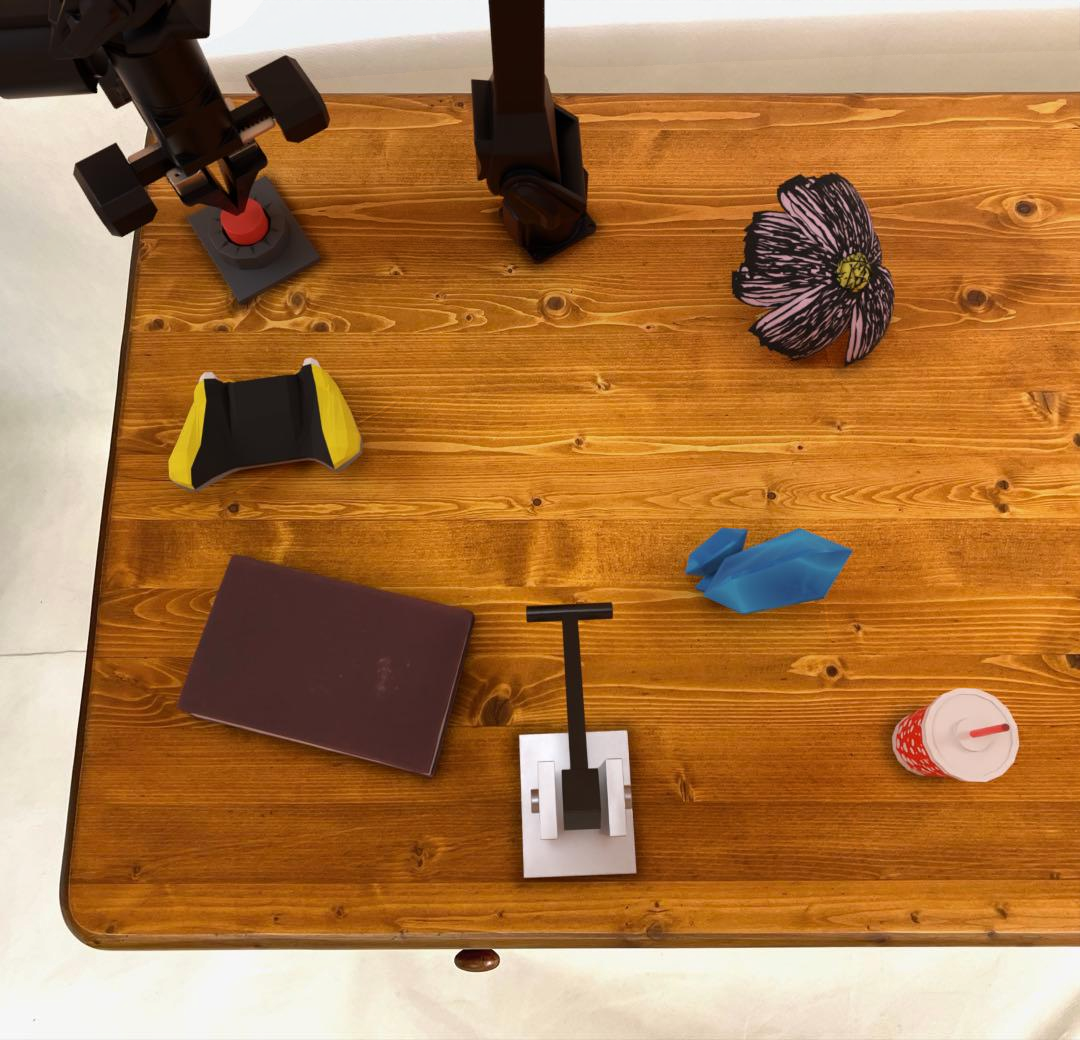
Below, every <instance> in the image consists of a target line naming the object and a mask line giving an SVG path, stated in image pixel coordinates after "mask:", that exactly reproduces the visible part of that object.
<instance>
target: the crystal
mask: <svg viewBox="0 0 1080 1040" xmlns="http://www.w3.org/2000/svg"><path fill="white" fill-rule="evenodd" d="M748 532H749V529H748V528H747V529H746V528H735V527H734V528H732V527H720V528H719V529H718V530H717V531H716V532H715V533H713V534H712V535H711V536H710V537H708V538H707V539H706V540H705V541H704V542H703V543H701V544H700V545H699V546H698V547H696V548H695V549H694V550H693V551H692V552H690V554H689V556H688V560H687V564H686V568H685V572H684V575H691V576H699V577H702V579H701V580H700V581H699V582H698V583H697V585H696V586H695V587H694V589H695V590H697V591H699V592H702V593H703V594H702V596H703V597H705V598H707V599H708V600H711V601H713V602H715V603H718V604H720V605H721V606H724V607H725V608H728V609H730V610H732V611H734V612H736V613H738V614H740V615H743V616H744V615H750V614H755V613H760V612H764V611H770V610H774V609H779V608H784V607H789V606H794V605H799V604H804V603H809V602H814V601H818V600H823V599H825V598H826V596H827V594H828V593H829V591H830V590H831V588H832V586H833V585H834V583H835V581H836V579H837V578H838V577H839V575H840V573H841V571H842V570H843V569H844V566H845V565H846V563H847V562H848V560H849V558H850V557H851V555H852V553H853V552H854V550H853V549H852V548H849V547H847V546H845V545H842V544H839V543H837V542H835V541H833V540H830V539H827V538H825V537H822V536H821V535H817V534H816V533H813V532H810V531H808V530H806V529H803V528H801V527H798V528H795V529H793V530H790V531H788V532H785V533H783V534H780V535H778V536H776V537H773V538H771V539H768V540H765V541H764V542H760V543H758V544H756V545H754V546H750V547H748V548H746V549H744V547H745V543H746V539H747V536H748Z"/></svg>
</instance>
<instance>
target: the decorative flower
mask: <svg viewBox="0 0 1080 1040" xmlns="http://www.w3.org/2000/svg"><path fill="white" fill-rule="evenodd" d="M828 172H829V173H827V174H821V175H820V176H819V177H817V176H815V175H811V176H804V175H803V174H802V173H799V174H796V175H794V176H793V177H791V178H788V179H786V180H785V181H784V182H783V183H781V184H779V185H777V186H778V187H777V188H776V198H777V201H778V203H779V205H780V208H781V209H782V210H783V211H779V210H768V209H767V210H766V209H765V210H758V211H752V216H751V222H750V223H749V224H748V225H747V226H746V227H745V228H743V229H742V231H744V232H745V233H746V234H745V235H744V237H743V239H742V242H744V243H745V244H744V249H743V258H744V262H742V261H741V262H740V264H739V267H738V269H736V270H731V289H732V290H731V294H732V295H733V298H735V299H736V300H738V301H739V302H740V303H743V304H744V305H746V306H750V307H754V308H760V309H765V310H769V311H768V312H766V313H765V314H764V315H762V316H760V317H759V318H758V319H757V320H756V321H754V322H753V323H752V325H751V326H750V327H749V328H748V329H747V332H749V333H751V334H752V336H753V337H756V338H757V339H758V342H759V347H766V348H767V350H768V351H769V352H773V351H774V352H776V353H778V354H779V355H781V356H787V357H786V358H787V359H788V360H787V361H786V362H798V361H801V360H805V359H808V358H810V357H812V356H815V355H816V354H819V353H820V352H822V351H824V350H825V349H827V348H829V347H830V346H832V345H833V344H834V343H836V342H837V341H838V340H840V339H842V337H843V336H844V335H845V334H846V333H847V331H848V337H847V343H846V349H845V353H844V354H845V355H844V357H843V364H844V365H843V366H844V368H847V367H849V366H850V365H853V364H855V363H856V362H858V361H862V360H864V359H865V358H866V357H867V356H868V355H870V354H871V353H872V352H873V351H874V349H875V348H876V347H877V346H878V344H880V342H881V341H882V340H883V337H884V336H885V334H886V332H887V330H888V328H889V325H890V322H891V321H892V317H893V312H894V305H895V303H894V302H895V286H894V281H893V277H892V273H891V271H890V270H889V269H888V268H887V267H886V266H883V265H882V264H883V250H882V246H881V245H882V244H881V241H880V239H879V236H878V234H877V232H876V230H875V226H874V222H873V218H872V214H871V212H870V210H869V208H868V205H867V203H866V202H865V200H864V199H863V197H862V195H861V194H860V193H859V191H858V190H857V189H856V188H855V186H854V185H853V183H851V182H850V180H848V179H847V178H846V177H845V176H842V175H840V174H839V173H837V171H835V170H834V172H831V171H828Z"/></svg>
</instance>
